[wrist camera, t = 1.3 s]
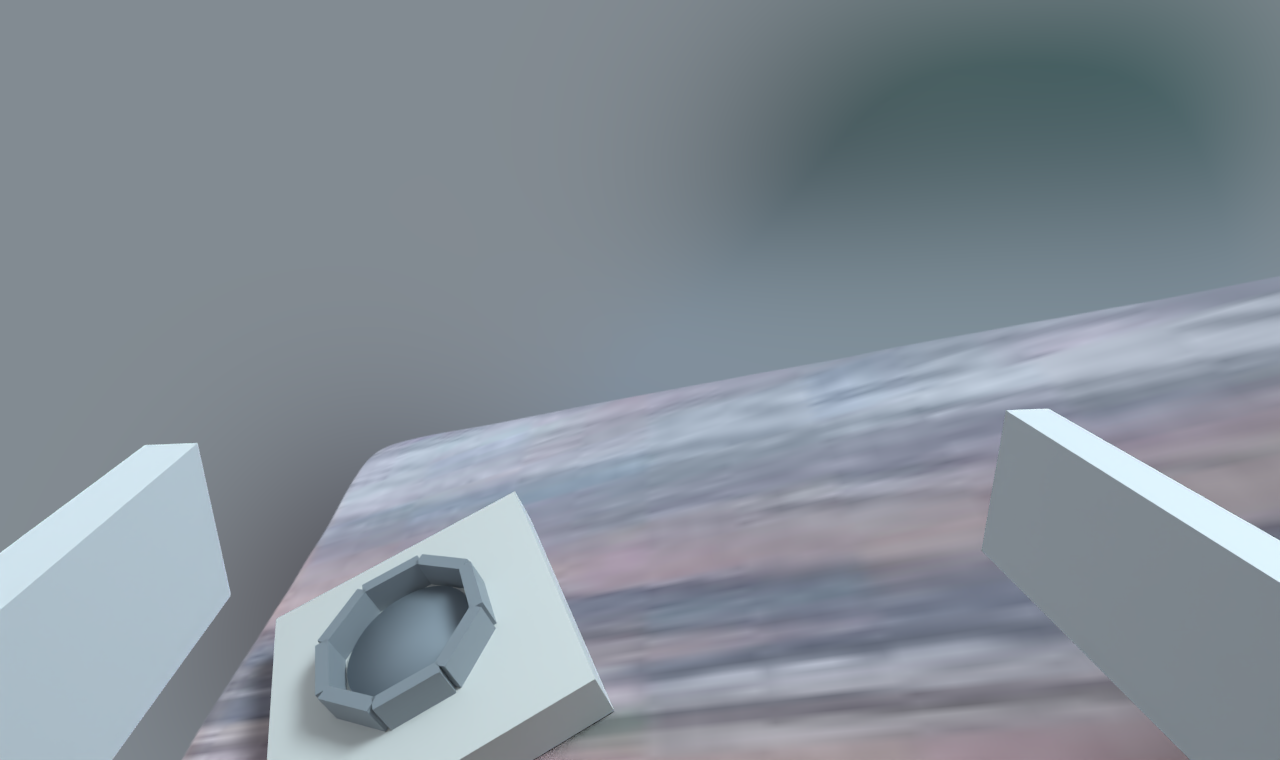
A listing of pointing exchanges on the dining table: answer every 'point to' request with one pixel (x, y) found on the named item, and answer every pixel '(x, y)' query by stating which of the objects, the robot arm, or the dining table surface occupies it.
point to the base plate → (437, 655)
